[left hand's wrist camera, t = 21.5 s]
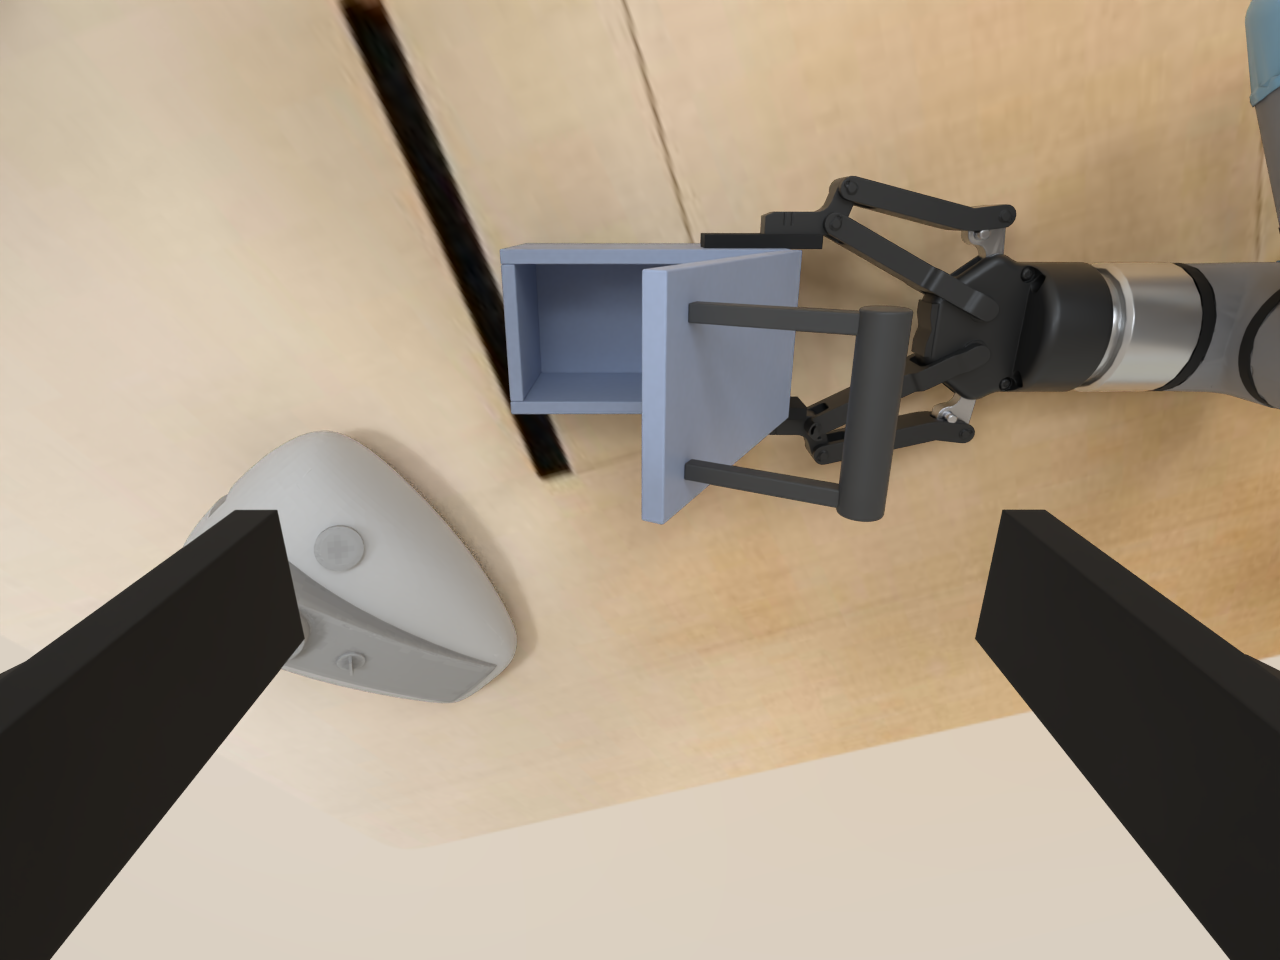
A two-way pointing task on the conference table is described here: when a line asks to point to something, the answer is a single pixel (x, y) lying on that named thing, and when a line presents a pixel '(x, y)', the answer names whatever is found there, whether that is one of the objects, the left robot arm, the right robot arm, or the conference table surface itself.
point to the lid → (756, 383)
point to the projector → (374, 574)
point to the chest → (582, 322)
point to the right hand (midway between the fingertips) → (699, 328)
